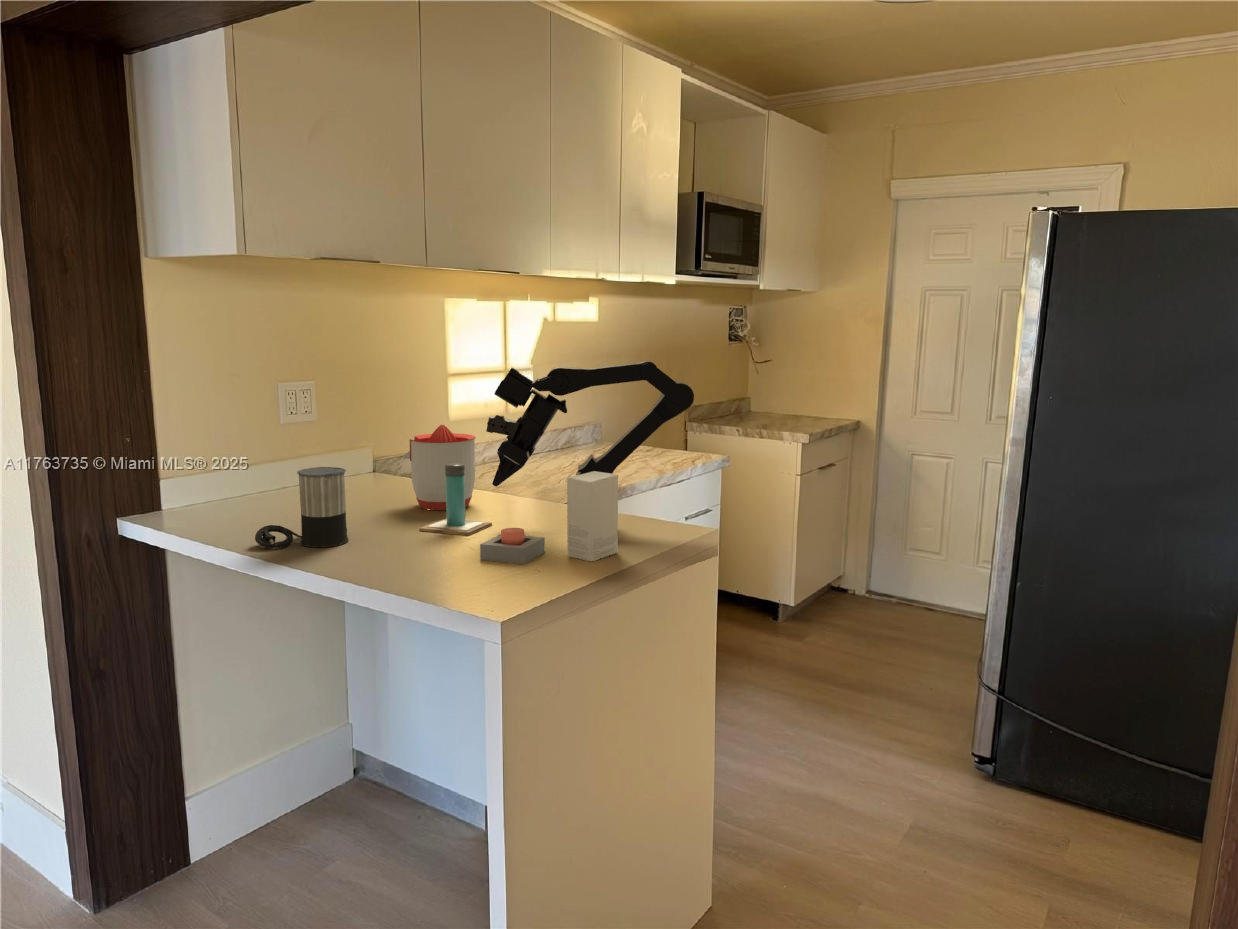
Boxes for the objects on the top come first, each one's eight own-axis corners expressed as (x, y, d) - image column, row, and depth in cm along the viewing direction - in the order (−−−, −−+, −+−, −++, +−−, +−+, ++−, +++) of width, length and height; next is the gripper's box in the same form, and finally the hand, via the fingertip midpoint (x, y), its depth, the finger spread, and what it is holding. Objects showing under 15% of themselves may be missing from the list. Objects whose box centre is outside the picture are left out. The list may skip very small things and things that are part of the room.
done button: (528, 544, 163) (528, 528, 162) (518, 549, 159) (517, 534, 158) (507, 542, 164) (507, 526, 164) (497, 547, 160) (496, 532, 160)
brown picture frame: (491, 525, 187) (491, 521, 187) (468, 535, 177) (468, 531, 177) (444, 520, 191) (444, 517, 191) (419, 530, 182) (419, 527, 181)
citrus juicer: (411, 500, 213) (408, 420, 210) (480, 500, 214) (479, 420, 211) (397, 513, 198) (394, 428, 195) (472, 513, 199) (470, 428, 195)
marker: (469, 524, 184) (468, 465, 181) (451, 527, 181) (450, 467, 179) (460, 521, 187) (459, 462, 185) (442, 523, 184) (441, 464, 182)
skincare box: (594, 548, 168) (594, 470, 165) (620, 554, 164) (620, 474, 161) (565, 556, 161) (565, 476, 159) (591, 563, 157) (591, 480, 155)
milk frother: (358, 541, 172) (355, 469, 170) (289, 558, 160) (284, 480, 157) (316, 531, 181) (312, 462, 178) (246, 547, 168) (241, 472, 166)
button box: (544, 552, 164) (544, 537, 164) (523, 564, 156) (523, 548, 156) (503, 548, 167) (502, 533, 167) (480, 559, 159) (480, 544, 159)
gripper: (508, 396, 188) (471, 456, 189) (497, 402, 169) (456, 468, 171) (551, 423, 189) (514, 482, 190) (544, 432, 170) (504, 497, 172)
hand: (497, 481), depth 181 cm, fingers open, 9 cm apart
